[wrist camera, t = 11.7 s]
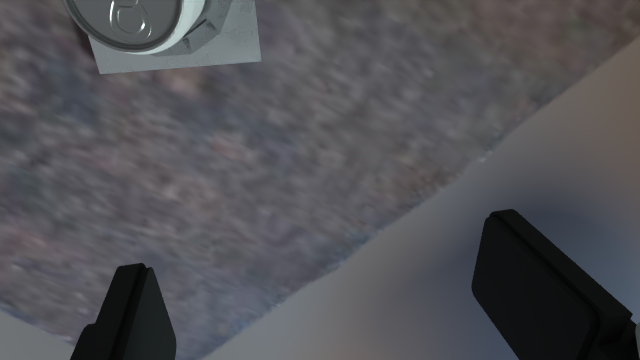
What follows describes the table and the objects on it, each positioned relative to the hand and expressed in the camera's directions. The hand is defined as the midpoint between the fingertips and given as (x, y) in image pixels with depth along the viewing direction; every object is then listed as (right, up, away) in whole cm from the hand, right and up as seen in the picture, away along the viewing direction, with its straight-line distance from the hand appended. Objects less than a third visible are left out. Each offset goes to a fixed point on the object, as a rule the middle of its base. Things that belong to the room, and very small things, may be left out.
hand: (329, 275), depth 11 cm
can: (-12, +18, +19) cm, 28 cm away
